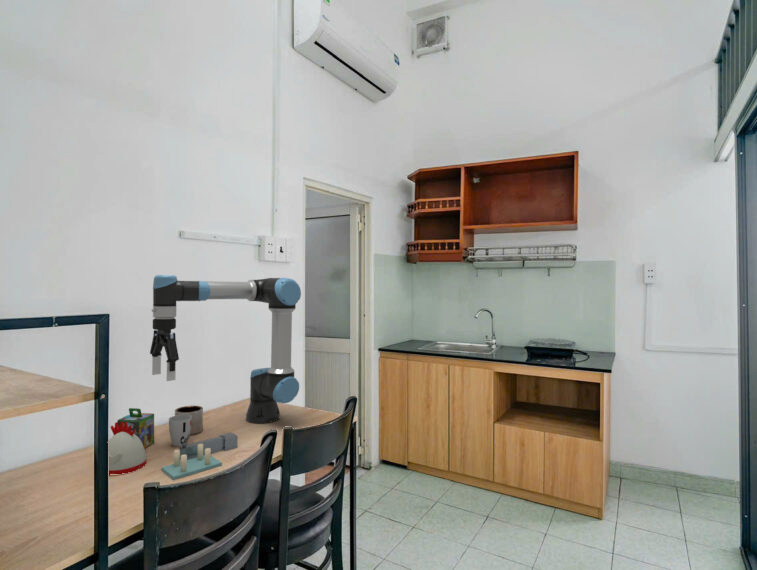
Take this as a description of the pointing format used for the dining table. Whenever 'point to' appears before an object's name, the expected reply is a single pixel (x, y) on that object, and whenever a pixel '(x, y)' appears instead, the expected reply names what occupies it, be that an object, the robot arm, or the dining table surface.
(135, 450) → the kitchen timer
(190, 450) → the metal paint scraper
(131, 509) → the dining table surface
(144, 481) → the dining table surface
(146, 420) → the chalk box
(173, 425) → the cup
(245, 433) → the dining table surface
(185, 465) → the peg rack
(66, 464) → the dining table surface
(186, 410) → the planter
